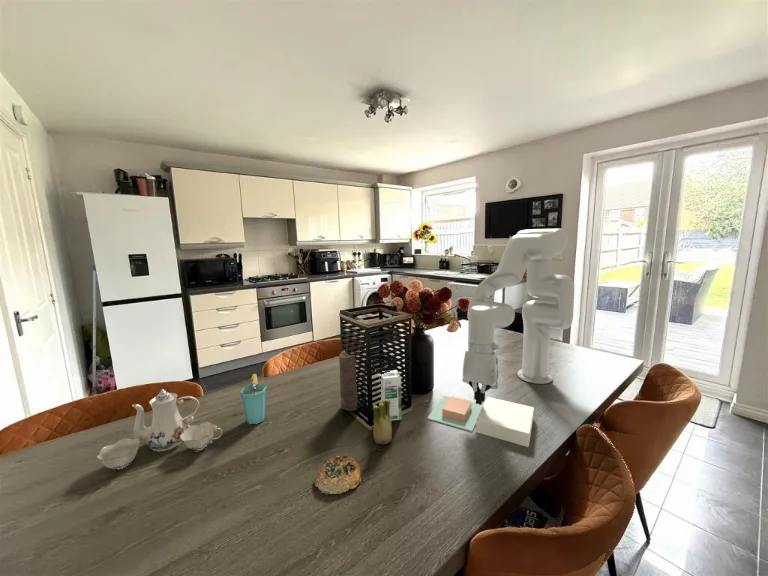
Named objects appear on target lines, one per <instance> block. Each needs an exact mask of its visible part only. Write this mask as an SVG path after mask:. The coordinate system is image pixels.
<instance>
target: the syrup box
mask: <svg viewBox="0 0 768 576" xmlns="http://www.w3.org/2000/svg"><path fill="white" fill-rule="evenodd" d="M389 371H390V372H387V373H384V374H382V375H381V401H382V400H387V399H388V400H390V418H391V422H393V421H401V420H402V419H403V418H402V377H401V375H400V373H399V371H398V370H397V369H394V370H389ZM380 403H382V402H380Z"/></svg>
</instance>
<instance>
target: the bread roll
mask: <svg viewBox="0 0 768 576" xmlns="http://www.w3.org/2000/svg"><path fill="white" fill-rule="evenodd" d="M361 481H362V471H361V468H360V464H359V463H358V462H357V461H356V460H355V458H353V457H351V456H348V455H347V454H344V455H343V454H340V455H336V456H334V457H331V458H329V459H327V460H325V461H324V462H323V463H322V464H321V466H320V467H319V468H318V469H317V472H316V474H315V476H314V486H315V487H318V488H319V489H320V490H321V491H323V492H325V493H330V494H338V493H342V492H345V493H347V492H348V491H350V490H353V489H355V488H356V487H357V486H358V485H359V484H360V483H361ZM349 489H350V490H349ZM346 491H347V492H346Z"/></svg>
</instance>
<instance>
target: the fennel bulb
mask: <svg viewBox="0 0 768 576" xmlns="http://www.w3.org/2000/svg"><path fill="white" fill-rule="evenodd" d="M372 410H373V434H372V435H373V439H374V443H375V444H377V445H388V444H389V443H391V442H392V439H393V437H392V436H393V433H392V432H393V428H392V426H393V425H392V421H391V418H390V400H388V399H387V400H382V403H381V402H380V403H379V404H378V405H375V404H374V405H373V409H372Z"/></svg>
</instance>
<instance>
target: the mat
mask: <svg viewBox="0 0 768 576" xmlns="http://www.w3.org/2000/svg"><path fill="white" fill-rule="evenodd" d="M450 397H451V396H448V395H443V396H442V398H441V399H440V401H439V402H438V403H437V404H436V406H435V407H434V408H433V410H432V411H431V412H430V414H429V415H428V417H427V418H426V419H427V420H430V421H433V422H436V423H440V424H443V425H446V426H450V427H453V428H456V429H461V430H464V431H467V432H471V433H473V431H474V430H475V428H476V419H477V417H478V415H479V413H480V411H481V409H482V407H483V405H484V404H481V405H479V404H476V402H473V401H472V408H471V410H470V412H469V414H468V416H467V418H466V420H465V422H462V421H458V420H455V419H451V418H447V417H444V416H442V409H443V407H444V406H445V404H446V403H447V401H448V400H449V399H450Z"/></svg>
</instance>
